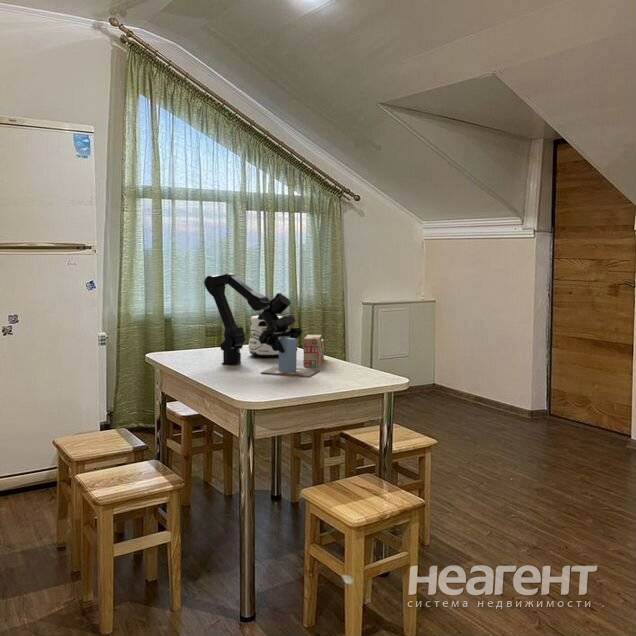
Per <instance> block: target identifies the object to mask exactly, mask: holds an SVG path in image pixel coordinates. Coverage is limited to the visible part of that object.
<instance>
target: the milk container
mask: <svg viewBox="0 0 636 636" xmlns="http://www.w3.org/2000/svg"><path fill="white" fill-rule="evenodd" d="M258 316H259V315H253V316H251V318H250V336H249V337H250V338H249V340H248V351H249V353H250V354H251V355H253V356H255V357H262V358H274V357H275V358H276V357H279V351H278V350H276V349H275V348H273V347H271V346H269V345H267V344H261V343H260V341H259V336H260V335H261V334H262V332H263V331H264V330H267V329H266V328H267V325H266V323H265V321H264V320H259V319H258ZM277 316H278V317H279V319H280V318H281V317H283V316H282V315H277ZM282 338H286V337H282ZM278 339H279V338H278Z"/></svg>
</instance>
